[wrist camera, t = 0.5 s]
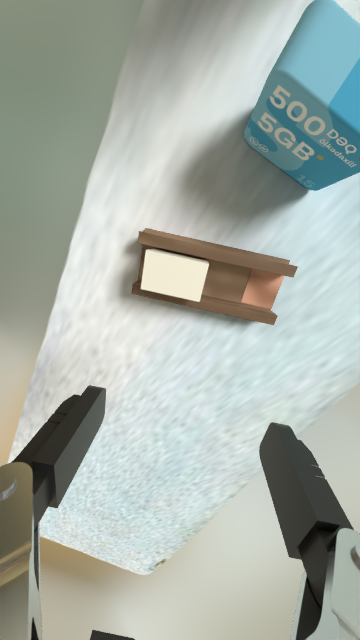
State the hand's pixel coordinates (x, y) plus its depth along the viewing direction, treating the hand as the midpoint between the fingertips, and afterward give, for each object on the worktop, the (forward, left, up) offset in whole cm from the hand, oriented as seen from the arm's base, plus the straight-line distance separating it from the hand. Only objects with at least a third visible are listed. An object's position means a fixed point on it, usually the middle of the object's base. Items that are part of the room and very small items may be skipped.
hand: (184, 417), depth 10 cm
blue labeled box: (-21, +8, -26) cm, 35 cm away
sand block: (-3, -3, -25) cm, 25 cm away
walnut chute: (-3, +2, -26) cm, 26 cm away
